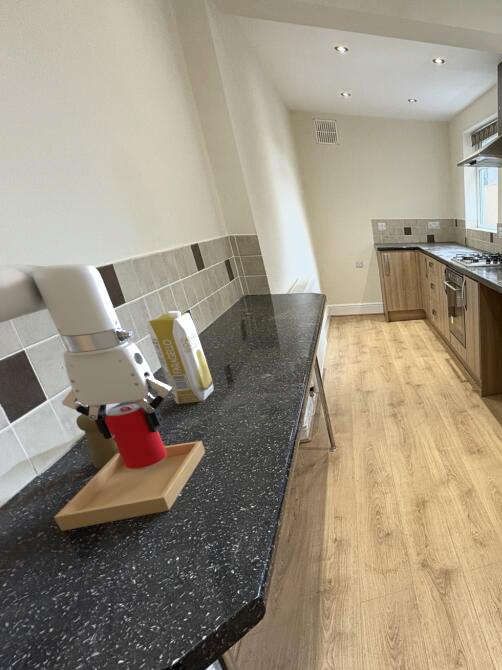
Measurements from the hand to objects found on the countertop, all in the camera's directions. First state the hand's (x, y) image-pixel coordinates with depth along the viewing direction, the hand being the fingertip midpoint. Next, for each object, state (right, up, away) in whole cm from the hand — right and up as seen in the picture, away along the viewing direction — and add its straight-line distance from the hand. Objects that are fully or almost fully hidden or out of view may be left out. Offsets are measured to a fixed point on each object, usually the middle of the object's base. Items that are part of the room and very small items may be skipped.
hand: (134, 431), depth 76 cm
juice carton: (-17, +5, +36) cm, 40 cm away
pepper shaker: (-12, -7, +9) cm, 17 cm away
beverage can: (0, -7, +3) cm, 7 cm away
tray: (+1, -10, 0) cm, 10 cm away
